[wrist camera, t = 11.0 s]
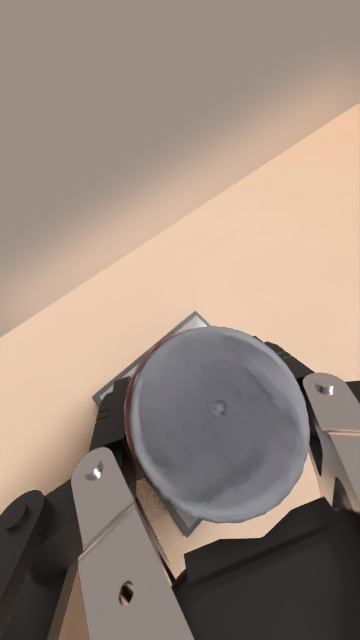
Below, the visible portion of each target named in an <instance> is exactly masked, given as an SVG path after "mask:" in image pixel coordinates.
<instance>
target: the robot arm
mask: <svg viewBox="0 0 360 640" xmlns="http://www.w3.org/2000/svg"><path fill="white" fill-rule="evenodd" d="M252 337H254V338H256V339H258V340H259V341H261V340H260V339H259V338H257V337H256V336H252ZM261 342H262V341H261ZM263 343H264V342H263ZM264 344H265V345H267V346H268V347H269V348H271V349H272V350H273V351H274V352H275V353H276V354H277V355H278V356H279V357H280V358H281V359H282V360H283V361H284V362H285V364H286V365H287V366H288V368H289V369H290V371H291V372H292V374H293V375H294V377H295V379H296V381H297V383H298V385H299V387H300V390H301V392H302V394H303V396H304V399H305V403H306V408H307V413H308V420H309V427H310V441H309V448H308V452H309V455H310V458H311V461H312V464H313V468H314V471H315V474H316V477H317V481H318V485H319V490H320V497H321V498H319V499H316V500H314V501H311V502H309V503H307V504H304V505H302V506H299V507H297V508H295V509H292V510H291V511H290V512H289V513H288V514H287V515H286V516H285V517H284V518H282V519H281V520H280V521H279V522H278V523H277V524H276V525H275V526H274V527H273V528H272V529H271V530H270V531H269V532H268V533H267V534H266V535H265V536H264V537H261V538H248V539H219V540H217V541H214V542H212V543H210V544H207V545H205V546H202V547H200V548H198V549H195V550H193V551H190V552H188V553H185V554H184V558H185V565H186V569H185V570H184V571H183V572H182V573H181V574H180V575H179V576H178V577H177V576H176V574H175V572H174V570H173V568H172V566H171V564H170V562H169V560H168V558H167V557H166V555H165V553H164V551H163V549H162V547H161V545H160V543H159V541H158V539H157V536H156V534H155V532H154V530H153V528H152V526H151V524H150V522H149V520H148V518H147V515H146V513H145V511H144V509H143V507H142V505H141V503H140V501H139V499H138V497H137V495H136V481H137V480H140V479H142V478H144V476H143V475H142V474H141V472H140V470H139V468H138V467H137V465H136V463H135V461H134V459H133V456H132V454H131V451H130V449H129V446H128V443H127V437H126V434H125V426H124V404H125V395H126V392H127V388H128V384H129V382H130V380H131V377H130V376H127V377H123V378H120V379H117V380H115V381H114V385H113V391H112V392H110V393H107V394H106V395H105V397H104V398H103V400H102V401H101V403H100V407H99V411H98V413H99V414H98V415H97V422H96V424H95V428H94V432H93V437H92V441H91V445H90V450H89V453H88V454H87V455H85V456H84V457H83V458H82V459H81V460H80V462H79V463H78V464H77V466H76V467H75V469H74V471H73V474H72V477H71V479H70V480H68V481H67V482H65V483H64V484H62V485H61V486H59V487H58V488H57V489H55V490H54V491H52V492H51V493H49V494H48V495H46V496H44V495H43V494H42V493H41V492H40V491H38V490H32V491H29V492H27V493H24V494H23V495H21V496H20V497H18V498H17V499H16V500H14V501H13V502H12V503H11V504H10V505H9V506H8V507H7V508H6V509H5V510H4V511H3V513H2V514H1V515H0V640H58V638H59V634H60V630H61V626H62V623H63V619H64V615H65V612H66V608H67V604H68V601H69V597H70V593H71V590H72V586H73V582H74V579H75V575H76V571H77V568H78V569H79V576H80V583H81V589H82V595H83V601H84V607H85V613H86V620H87V626H88V632H89V638H90V640H360V381H350V382H344V381H343V380H341V379H340V378H338V377H336V376H334V375H330V374H326V373H315V372H313V371H312V370H311V369H309V368H308V367H307V366H305V365H304V364H302V363H301V362H300V361H298V360H297V359H296V358H294V357H293V356H291V355H290V354H289V353H287V352H285V350H283V349H282V348H281V347H279V346H278V345H276V344H273V343H270V342H265V343H264ZM24 581H25V582H24ZM21 588H22V589H21ZM19 593H20V594H19ZM17 598H18V599H17ZM14 605H15V606H14ZM12 610H13V611H12ZM9 617H10V618H9ZM7 622H8V623H7ZM5 627H6V628H5ZM4 629H5V630H4ZM2 634H3V635H2Z"/></svg>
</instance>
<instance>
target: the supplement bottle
mask: <svg viewBox="0 0 360 640" xmlns="http://www.w3.org/2000/svg"><path fill="white" fill-rule="evenodd" d="M124 426H125V434H126V437H127V443H128V446H129V449H130V451H131V454H132V456H133V459H134V461H135V463H136V465H137V467H138V468H139V470H140V472H141V474H142V475H143V476H144V477H145V479H146V480H147V482H148V483H149V484H150V485H151V486H152V487H153V488H154V489H155V490H156V491H157V492H159V493H160V495H161V496H162V497H163V498H164V499H166V500H168V501H170V502H171V503H172V504H173V505H174V506H175V507H177V508H178V509H180V510H181V511H183V512H185V513H187V514H189V515H190V516H192V517H195V518H200V519H203V520H205V521H210V522H214V523H241V522H244V521H247V520H249V519H252V518H255V517H258V516H261V515H264V514H266V513H267V512H268V511H269V510H271V509H273V508H275V507H276V506H277V505H279V504H280V503H281V502H282V501H283V499H284V498H285V497H287V496H288V495H289V493H290V492H291V490H292V488H293V487H294V485H295V484H296V483H297V482H298V480H299V478H300V476H301V474H302V472H303V467H304V462H305V460H306V458H307V453H308V448H309V441H310V427H309V420H308V413H307V408H306V403H305V399H304V396H303V394H302V392H301V390H300V387H299V385H298V383H297V381H296V379H295V377H294V375H293V374H292V372H291V371H290V369H289V368H288V366H287V365H286V364H285V362H284V361H283V360H282V359H281V358H280V357H279V356H278V355H277V354H276V353H275V352H274V351H273V350H272V349H271V348H269V347H268V346H267V345H265V344H264V343H263V342H261V341H259V340H258V339H256V338H254V337H252V336H251V335H249V334H246V333H244V332H242V331H238V330H234V329H231V328H226V327H216V326H207V327H199V328H195V329H188V330H184V331H181V332H178V333H175V334H173V335H170V336H168V337H167V338H165V339H163V340H161V341H160V342H158V343H157V344H156V345H155V346H154V347H153V348H151V349H150V350H149V352H148V353H147V354H146V355H145V356H144V357H143V359H142V360H141V361H140V363H139V364H138V366H137V367H136V369H135V371H134V373H133V375H132V377H131V380H130V382H129V384H128V388H127V392H126V395H125V404H124Z"/></svg>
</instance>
